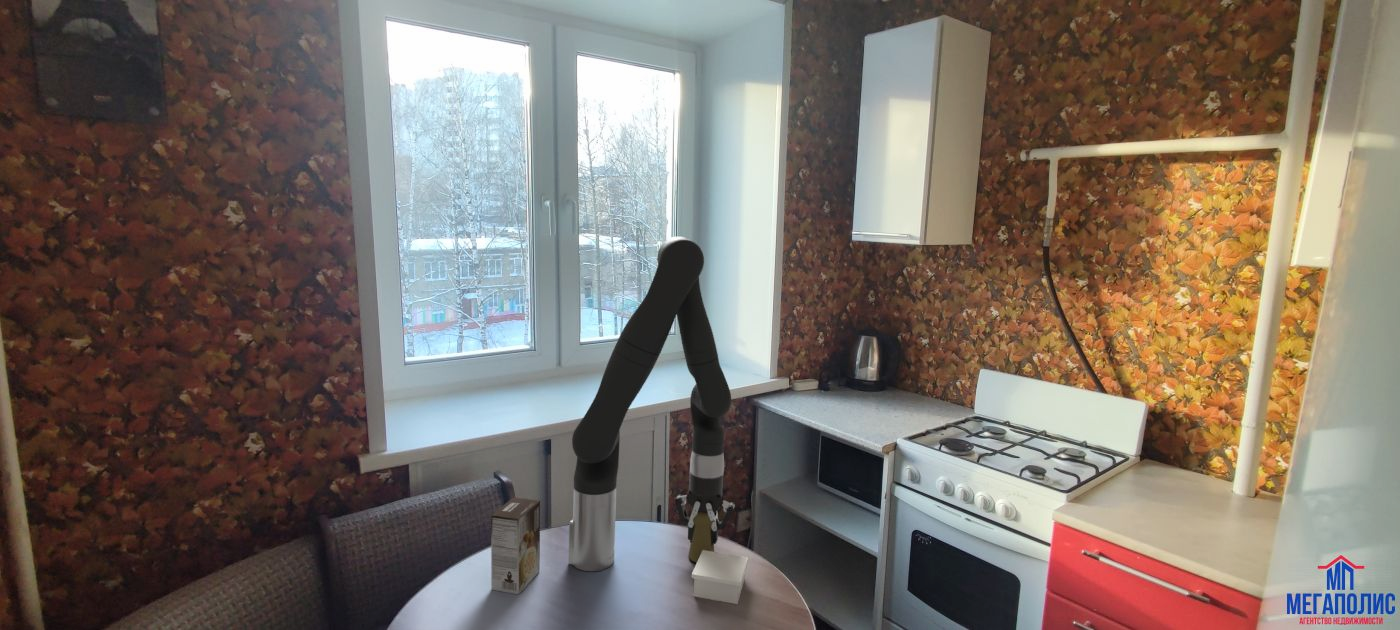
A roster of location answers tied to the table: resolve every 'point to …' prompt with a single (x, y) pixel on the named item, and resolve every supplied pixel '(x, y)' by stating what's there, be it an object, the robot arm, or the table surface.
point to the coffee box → (515, 545)
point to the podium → (719, 576)
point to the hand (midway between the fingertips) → (702, 542)
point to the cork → (701, 536)
